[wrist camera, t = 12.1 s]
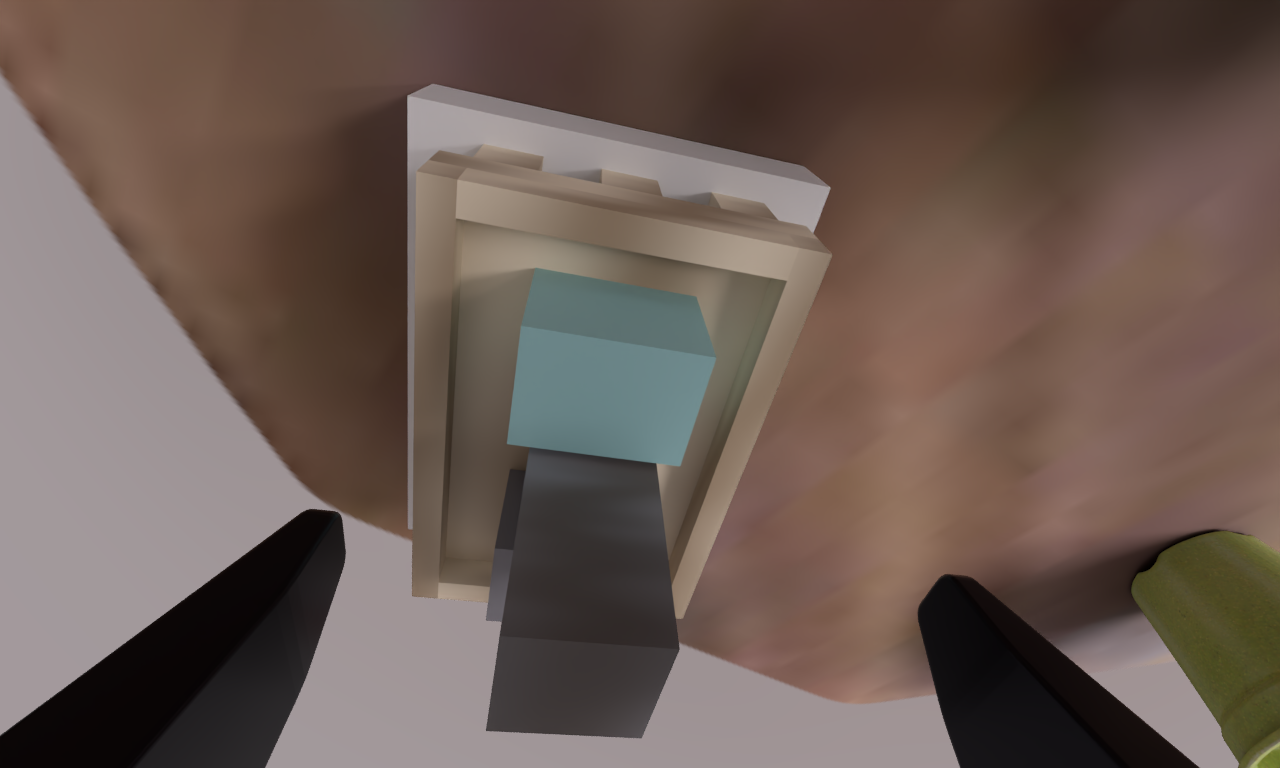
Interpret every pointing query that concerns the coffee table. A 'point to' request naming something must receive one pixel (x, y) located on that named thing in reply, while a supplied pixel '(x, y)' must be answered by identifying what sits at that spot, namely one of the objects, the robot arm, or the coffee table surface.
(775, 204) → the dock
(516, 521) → the charcoal block
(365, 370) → the coffee table surface
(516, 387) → the teal block
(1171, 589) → the plant pot
